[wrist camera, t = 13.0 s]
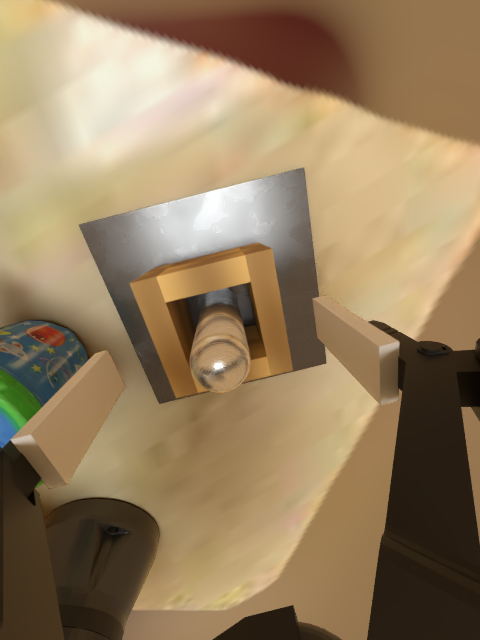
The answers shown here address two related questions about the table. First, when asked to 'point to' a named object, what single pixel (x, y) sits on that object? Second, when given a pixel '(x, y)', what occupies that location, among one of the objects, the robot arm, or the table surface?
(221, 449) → the table surface
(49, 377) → the snack cup
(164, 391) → the post stand
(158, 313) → the square wooden frame
